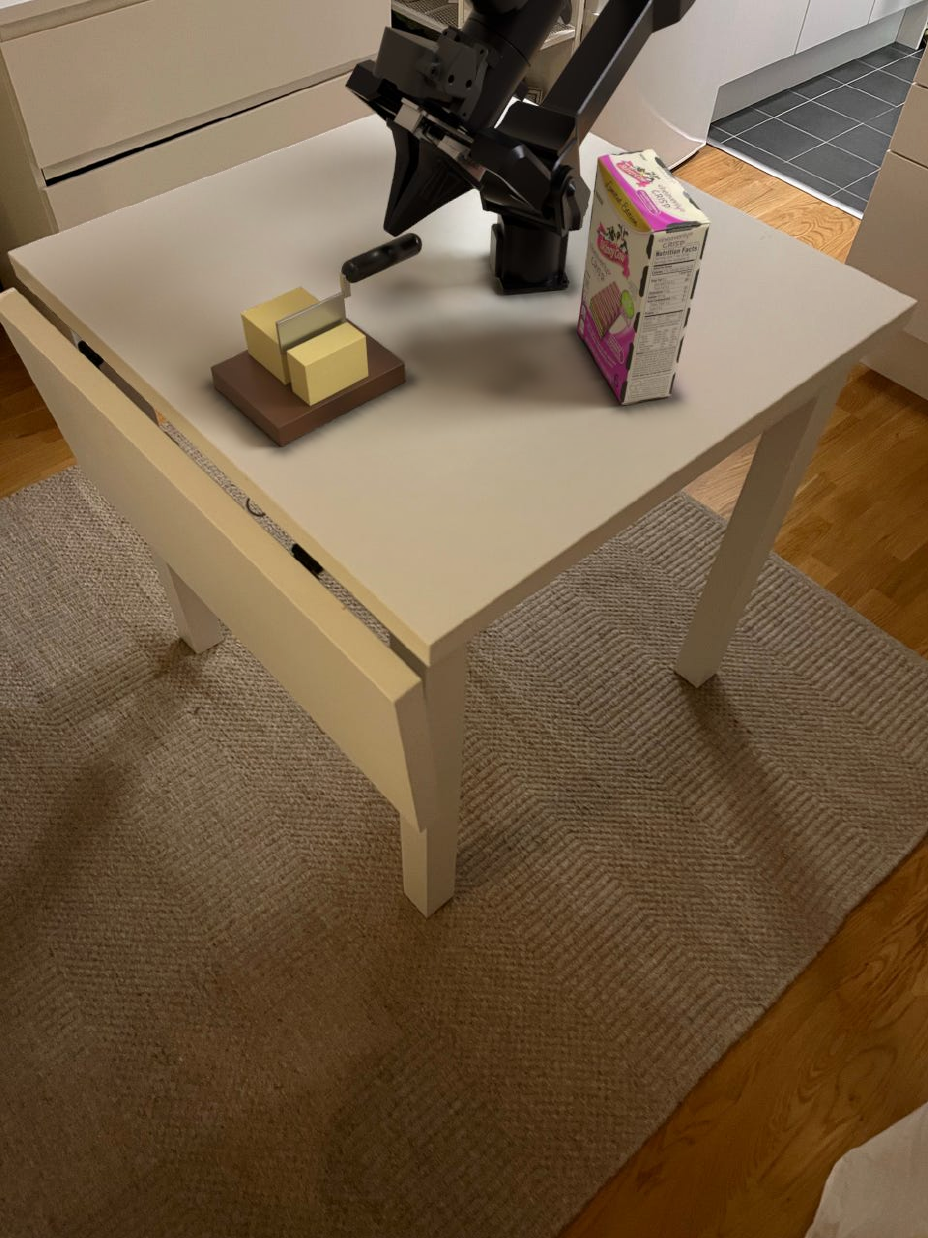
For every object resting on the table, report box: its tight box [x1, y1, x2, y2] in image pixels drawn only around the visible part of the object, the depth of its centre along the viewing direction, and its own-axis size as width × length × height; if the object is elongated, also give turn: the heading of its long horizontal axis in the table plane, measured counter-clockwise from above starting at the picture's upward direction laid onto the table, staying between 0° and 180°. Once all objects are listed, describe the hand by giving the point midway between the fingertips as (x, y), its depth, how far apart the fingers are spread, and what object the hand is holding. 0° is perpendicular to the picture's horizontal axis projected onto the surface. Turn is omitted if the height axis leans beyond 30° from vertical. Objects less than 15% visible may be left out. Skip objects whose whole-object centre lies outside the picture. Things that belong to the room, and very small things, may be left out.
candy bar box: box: [576, 148, 712, 406], centre depth 79 cm, size 11×5×16 cm, turn 17°
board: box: [209, 317, 407, 448], centre depth 82 cm, size 13×10×2 cm
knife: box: [275, 232, 423, 356], centre depth 77 cm, size 14×2×5 cm, turn 131°
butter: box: [240, 286, 368, 406], centre depth 80 cm, size 6×9×4 cm, turn 41°
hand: (389, 233), depth 76 cm, fingers closed
